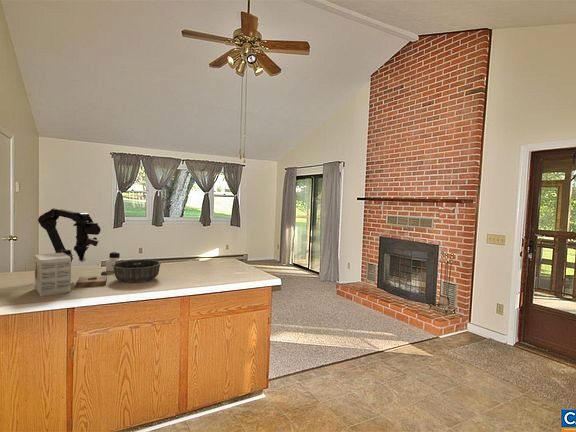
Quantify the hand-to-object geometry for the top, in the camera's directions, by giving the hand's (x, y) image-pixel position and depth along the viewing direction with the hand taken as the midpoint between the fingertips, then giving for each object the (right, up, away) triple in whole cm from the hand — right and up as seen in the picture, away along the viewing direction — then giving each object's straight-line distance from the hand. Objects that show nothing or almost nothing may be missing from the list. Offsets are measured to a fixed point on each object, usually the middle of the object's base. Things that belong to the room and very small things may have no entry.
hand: (82, 260), depth 199 cm
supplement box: (0, -13, -25) cm, 28 cm away
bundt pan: (+31, -13, +3) cm, 34 cm away
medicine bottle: (+6, -10, +25) cm, 28 cm away
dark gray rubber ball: (+10, -9, +6) cm, 15 cm away
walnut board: (+11, -12, -9) cm, 18 cm away
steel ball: (0, +1, 0) cm, 1 cm away
